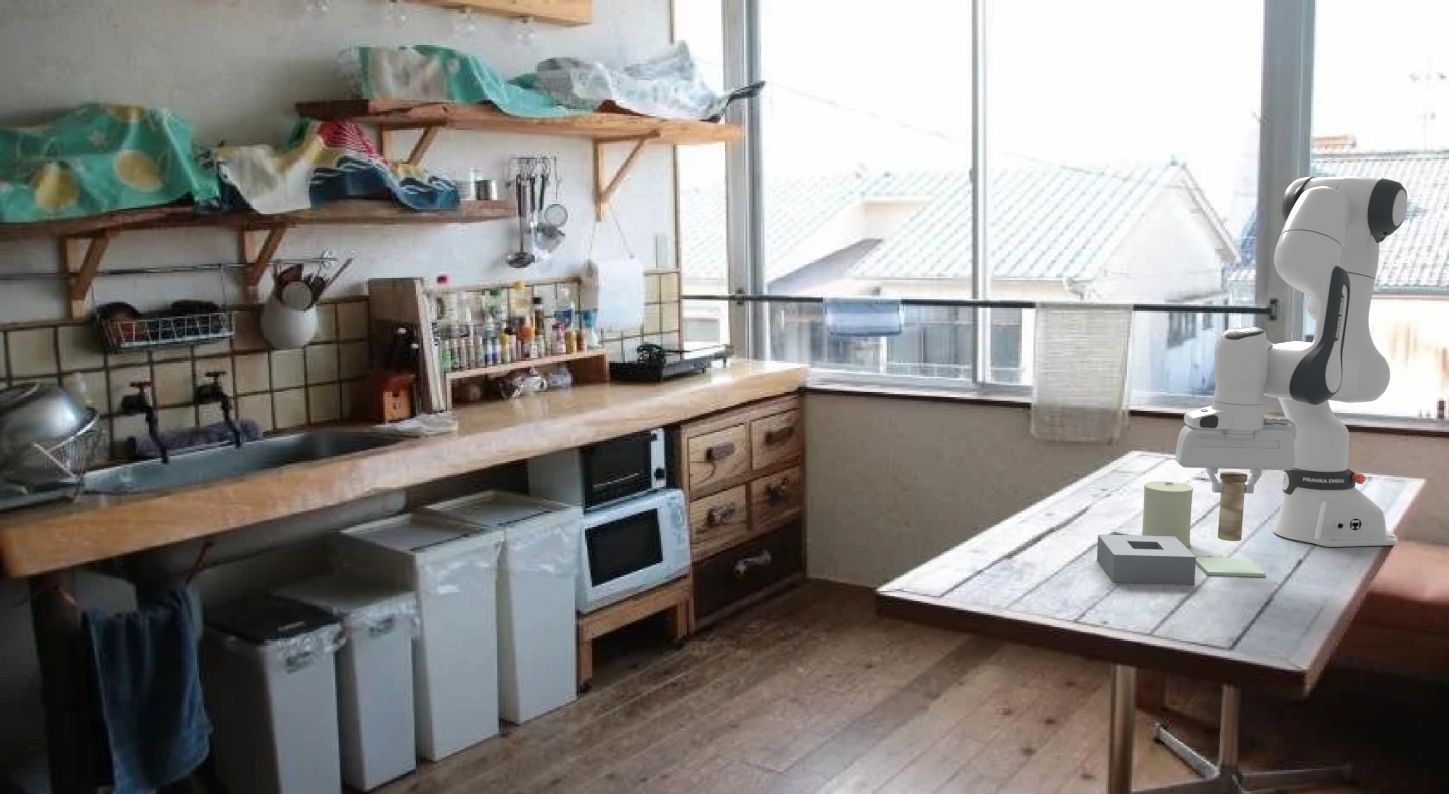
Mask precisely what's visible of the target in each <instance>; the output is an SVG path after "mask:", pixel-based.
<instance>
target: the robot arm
mask: <svg viewBox="0 0 1449 794" xmlns="http://www.w3.org/2000/svg"><path fill="white" fill-rule="evenodd" d="M1408 203H1409V202H1408V193H1407V191H1406V189H1405V187H1404V185H1403V184H1402V183H1400V182H1399V181H1396V180H1392V179H1387V178H1380V179H1377V178H1374V177H1373V178H1371V177H1365V176H1364V177H1363V176H1355V175H1354V176H1351V175H1345V176H1328V177H1315V176H1307V177H1301V178H1298V179H1296V180H1294V181H1293V182H1292V183H1291V184H1290V185H1288V187H1287V188H1286V190H1285V192H1284V195H1283V199H1282V204H1281V210H1282V212H1281V213H1282V217H1283V220H1284V221H1285V223H1284V226H1283V228H1282V231H1281V233H1280V236H1279V238H1278V241H1277V243H1276V247H1275V249H1274V254H1273V255H1274V256H1273V264H1274V265H1273V266H1274V268H1275V271H1276V273H1277V274H1278V276H1279V277H1280V278H1281V279H1282V281H1284V282H1285V283H1286V284H1287V285H1289V286H1290V287H1291V288H1293V289H1295V290H1297V291H1298V292H1301V293H1303V294H1304V295H1307V296H1308V298H1307V303H1306V309H1307V312H1308V314H1309V316H1310V317H1311V318H1312V319H1313V320H1314V321H1315V327H1314V331H1313V333H1314V334H1313V340H1312V342H1310V341H1309V342H1307V341H1301V340H1299V341H1298V340H1297V341H1287V342H1281V343H1273V342H1271V341H1270V340H1268V338H1267V333H1266V331H1265V330H1264V329H1262V328H1260V327H1257V326H1241V327H1239V326H1238V327H1232V328H1229V329H1227V330H1225V331H1223V332H1222V333H1221V335H1220V337H1219V340H1218V343H1217V348H1216V352H1215V360H1214V367H1213V368H1214V371H1213V378H1214V382H1215V389H1214V392H1213V395H1212V403H1211V405H1207V406H1204V407H1202V408H1197V409H1194V410H1190V411H1186V412H1185V413H1184V416H1183V422H1184V423H1185V424H1186V425H1185V426H1183V427H1182V428H1181V430H1180V431H1179V434H1178V438H1177V442H1176V446H1175V448H1176V449H1175V461H1176V463H1177V464H1178V465H1179V466H1180V467H1183V468H1186V469H1187V468H1191V469H1206V473H1207V475H1208V477H1209V479H1210V481H1211V485H1212V486H1211V491H1212V492H1213V493H1216V494H1217V493H1218V494H1219V493H1220V494H1221V493H1222V492H1223V489H1222V488H1223V483H1222V482H1221V481H1218V479H1217V477H1216V475H1218V474H1219V469H1223V470H1225V469H1227V470H1229V469H1230V470H1249V473H1250V474H1251V476H1250V478H1249V479H1247V481H1246V482H1245V494H1254V492H1255V485H1256V484H1257V482H1258V481H1259V479H1260V478H1261V477H1262V473H1263V472H1262V471H1264V470H1265V471H1267V470H1268V471H1269V470H1270V471H1283V472H1282V479H1281V486H1282V487H1281V488H1282V489H1281V490H1282V492H1283V494H1282V498H1281V503H1280V509H1279V512H1278V516H1277V519H1276V521H1275V524H1274V527H1273V529H1272V531H1273V533H1274V534H1276V535H1277V536H1280V537H1283V538H1286V539H1289V540H1294V541H1299V542H1305V543H1311V544H1315V545H1318V546H1322V547H1329V548H1331V547H1332V548H1333V547H1334V548H1335V547H1336V548H1338V547H1368V546H1369V547H1370V546H1371V547H1373V546H1379V547H1380V546H1396V545H1398V544H1399V543H1398V542H1399V540H1398V536H1397V535H1395V533H1393V532H1391V531H1390V530H1387V529H1386V528H1387V525H1386V518H1385V514H1384V511H1383V509H1382V508H1381V507H1380V506H1379V505H1377V503H1375V502H1374V501H1372V499H1370V498H1369V497H1368V496H1367V495H1365V494H1364V493H1363V492H1362V491H1360V490H1359V489H1358V488H1357V487H1356V484H1358V485H1362V484H1365V482H1366V480H1367V477H1366V476H1365V474H1364V473H1361V472H1355V471H1353V470H1352V469H1350V468H1348V462H1349V461H1348V460H1349V447H1350V432H1349V430H1348V427H1347V426H1346V425H1345V424H1344V423H1343V422H1342V421H1341V420H1340V419H1338V418H1337V416H1336V415H1335V414H1334V412H1333V410H1332V408H1331V406H1330V403H1329V402H1330V401H1334V402H1341V403H1347V404H1352V403H1353V404H1354V403H1365V402H1366V403H1368V402H1374V401H1376V400H1378V399H1380V397H1382V395H1383V394H1384V393H1385V392H1386V391H1387V390H1388V386H1389V385H1390V380H1391V370H1390V366H1389V364H1388V361H1387V360H1386V358H1385V356H1384V355H1382V353H1380V351H1379V350H1378V349H1377V347H1376V346H1375V344H1374V342H1373V339H1372V335H1371V332H1370V325H1369V320H1370V315H1369V314H1370V310H1371V303H1372V297H1373V292H1374V288H1375V287H1374V286H1375V282H1376V278H1377V277H1376V276H1377V273H1378V272H1377V271H1378V268H1379V267H1378V266H1379V258H1380V243H1382V242H1383V241H1385V240H1386V238H1387V237H1388V236H1390V235H1393V234H1394V233H1395V232H1396V231H1397V230H1398V229H1399V228H1400V227H1401V226H1402V224H1403V222H1404V221H1405V218H1406V215H1407V211H1408V208H1409V207H1408ZM1265 397H1270V398H1274V399H1275V398H1276V399H1278V402H1279V404H1280V406H1281V408H1282V410H1283V411H1282V412H1283V414H1284V418H1271V417H1265V413H1266V412H1265V411H1266V410H1265V409H1266V398H1265Z"/></svg>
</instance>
